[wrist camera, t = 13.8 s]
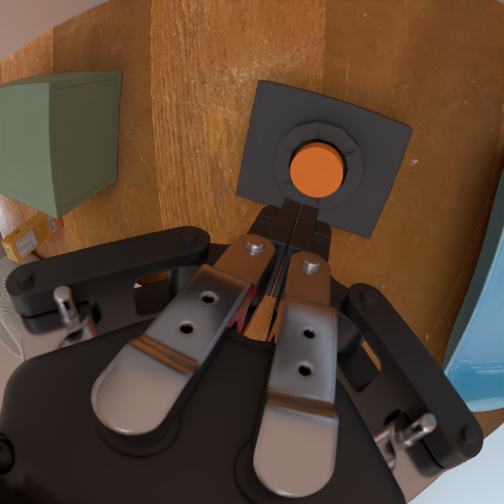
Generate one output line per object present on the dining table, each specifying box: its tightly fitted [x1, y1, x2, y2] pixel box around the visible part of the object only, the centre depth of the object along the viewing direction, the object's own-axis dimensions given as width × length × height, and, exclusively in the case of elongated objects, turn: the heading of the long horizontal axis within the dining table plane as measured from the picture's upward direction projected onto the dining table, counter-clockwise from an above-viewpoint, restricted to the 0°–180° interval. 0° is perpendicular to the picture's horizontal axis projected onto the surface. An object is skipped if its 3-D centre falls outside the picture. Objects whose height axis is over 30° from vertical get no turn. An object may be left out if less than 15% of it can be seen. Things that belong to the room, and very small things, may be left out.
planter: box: [0, 253, 41, 359], centre depth 42 cm, size 17×17×15 cm
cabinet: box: [0, 71, 122, 219], centre depth 25 cm, size 15×13×10 cm
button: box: [290, 142, 343, 198], centre depth 20 cm, size 4×4×2 cm
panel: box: [236, 80, 413, 239], centre depth 22 cm, size 12×10×4 cm
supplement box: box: [2, 211, 63, 263], centre depth 34 cm, size 3×3×10 cm
